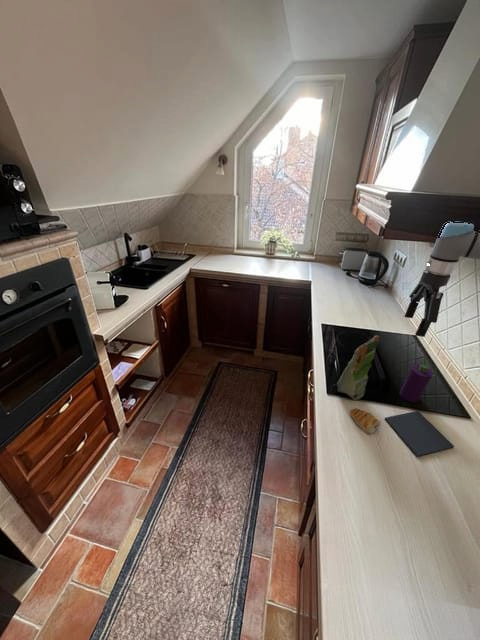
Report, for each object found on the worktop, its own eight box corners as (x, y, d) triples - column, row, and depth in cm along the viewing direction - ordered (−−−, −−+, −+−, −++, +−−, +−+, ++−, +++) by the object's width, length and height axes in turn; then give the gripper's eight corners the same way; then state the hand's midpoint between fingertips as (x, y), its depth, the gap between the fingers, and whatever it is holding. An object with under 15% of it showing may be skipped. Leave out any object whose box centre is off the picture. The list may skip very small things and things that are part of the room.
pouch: (361, 382, 103) (379, 331, 91) (369, 405, 93) (391, 351, 81) (333, 378, 105) (347, 327, 92) (338, 401, 95) (355, 347, 82)
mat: (417, 412, 91) (418, 410, 91) (453, 447, 80) (454, 446, 79) (384, 419, 88) (384, 417, 88) (416, 457, 77) (417, 455, 76)
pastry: (345, 416, 89) (347, 409, 87) (355, 408, 92) (358, 400, 90) (370, 436, 82) (373, 429, 80) (380, 426, 86) (384, 418, 84)
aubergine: (409, 388, 101) (424, 359, 93) (422, 401, 96) (439, 371, 88) (395, 391, 100) (409, 361, 92) (408, 403, 94) (424, 373, 87)
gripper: (413, 259, 95) (394, 309, 106) (439, 284, 74) (412, 343, 85) (436, 261, 93) (414, 312, 104) (469, 287, 73) (437, 346, 83)
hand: (413, 326), depth 95 cm, fingers open, 13 cm apart
